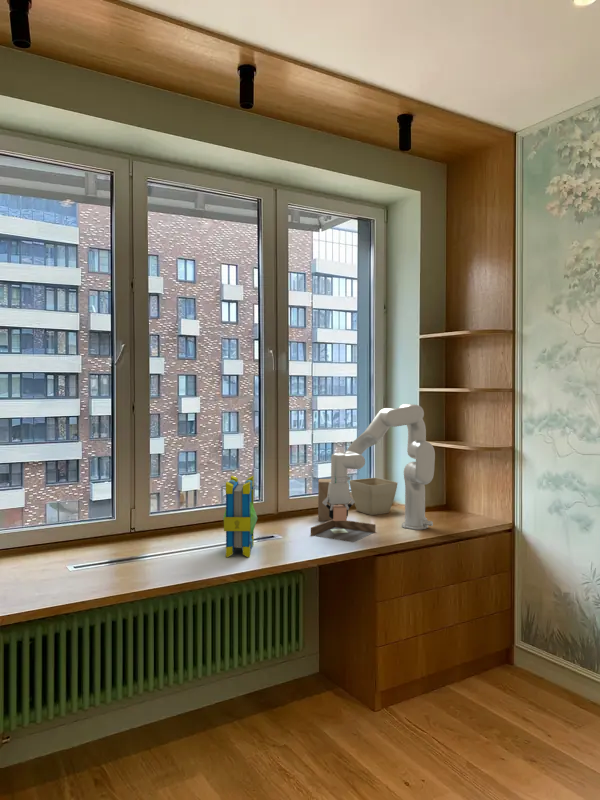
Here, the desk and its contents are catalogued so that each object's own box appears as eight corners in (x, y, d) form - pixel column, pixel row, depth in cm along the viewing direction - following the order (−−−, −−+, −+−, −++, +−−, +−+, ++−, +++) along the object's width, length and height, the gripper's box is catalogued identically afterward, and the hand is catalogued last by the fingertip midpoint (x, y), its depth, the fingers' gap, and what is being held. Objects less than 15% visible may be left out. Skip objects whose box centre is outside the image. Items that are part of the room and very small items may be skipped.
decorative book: (219, 558, 244) (219, 483, 243) (227, 543, 267) (227, 474, 266) (255, 558, 244) (255, 483, 243) (259, 543, 267) (259, 474, 266)
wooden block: (338, 521, 310) (338, 481, 309) (318, 521, 310) (318, 481, 310) (337, 517, 320) (337, 478, 319) (318, 516, 320) (318, 478, 320)
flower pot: (398, 513, 329) (398, 482, 329) (370, 517, 319) (370, 485, 319) (375, 507, 345) (375, 477, 345) (348, 511, 335) (348, 480, 335)
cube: (342, 517, 291) (343, 505, 291) (346, 520, 285) (346, 507, 285) (330, 518, 290) (330, 505, 289) (334, 521, 284) (334, 508, 284)
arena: (375, 532, 286) (375, 524, 286) (353, 543, 268) (353, 534, 268) (334, 526, 298) (334, 518, 298) (310, 536, 280) (310, 527, 279)
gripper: (354, 478, 292) (353, 515, 293) (319, 479, 289) (318, 517, 289) (359, 480, 285) (358, 519, 286) (323, 481, 281) (322, 520, 282)
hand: (338, 517), depth 287 cm, fingers closed on cube, 6 cm apart
